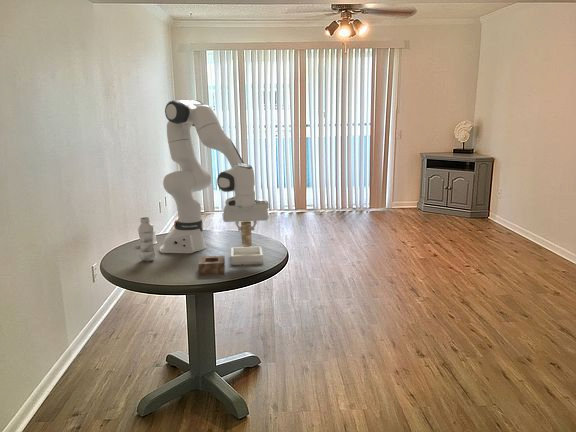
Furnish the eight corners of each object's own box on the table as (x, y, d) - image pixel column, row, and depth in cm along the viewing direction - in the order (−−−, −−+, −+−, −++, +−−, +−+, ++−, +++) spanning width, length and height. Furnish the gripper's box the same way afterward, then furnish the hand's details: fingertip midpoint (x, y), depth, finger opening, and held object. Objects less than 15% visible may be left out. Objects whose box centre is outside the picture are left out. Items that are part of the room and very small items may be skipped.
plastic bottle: (141, 258, 220) (138, 216, 216) (156, 258, 221) (153, 216, 216) (138, 263, 214) (135, 220, 210) (154, 262, 215) (150, 219, 210)
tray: (231, 264, 211) (231, 256, 210) (231, 255, 224) (231, 247, 223) (262, 263, 212) (262, 255, 211) (261, 254, 226) (261, 246, 225)
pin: (242, 247, 214) (241, 223, 212) (241, 244, 218) (241, 221, 216) (251, 246, 215) (251, 223, 212) (251, 244, 219) (250, 220, 216)
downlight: (160, 243, 245) (158, 224, 243) (147, 246, 241) (145, 226, 239) (153, 241, 251) (151, 222, 249) (140, 243, 247) (138, 224, 245)
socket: (199, 275, 197) (198, 264, 196) (200, 267, 208) (200, 256, 206) (224, 274, 198) (223, 263, 197) (224, 266, 209) (224, 255, 207)
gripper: (268, 198, 216) (268, 227, 219) (222, 199, 214) (224, 229, 217) (269, 200, 210) (269, 231, 213) (222, 202, 208) (223, 233, 211)
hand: (246, 230), depth 215 cm, fingers closed on pin, 4 cm apart
